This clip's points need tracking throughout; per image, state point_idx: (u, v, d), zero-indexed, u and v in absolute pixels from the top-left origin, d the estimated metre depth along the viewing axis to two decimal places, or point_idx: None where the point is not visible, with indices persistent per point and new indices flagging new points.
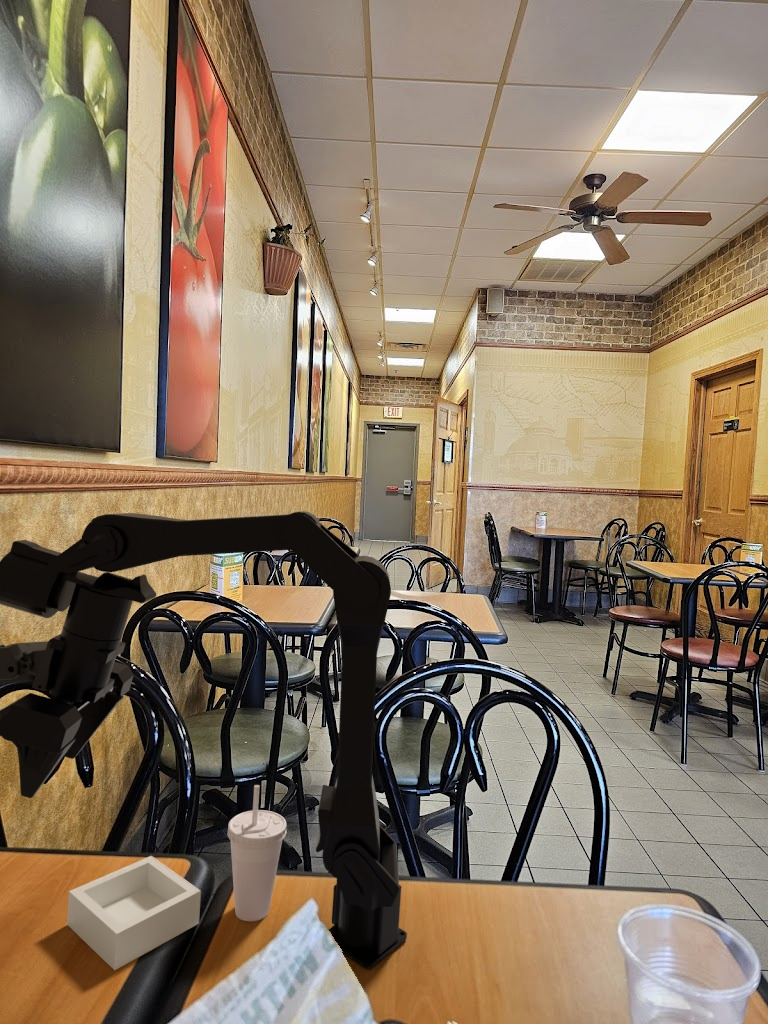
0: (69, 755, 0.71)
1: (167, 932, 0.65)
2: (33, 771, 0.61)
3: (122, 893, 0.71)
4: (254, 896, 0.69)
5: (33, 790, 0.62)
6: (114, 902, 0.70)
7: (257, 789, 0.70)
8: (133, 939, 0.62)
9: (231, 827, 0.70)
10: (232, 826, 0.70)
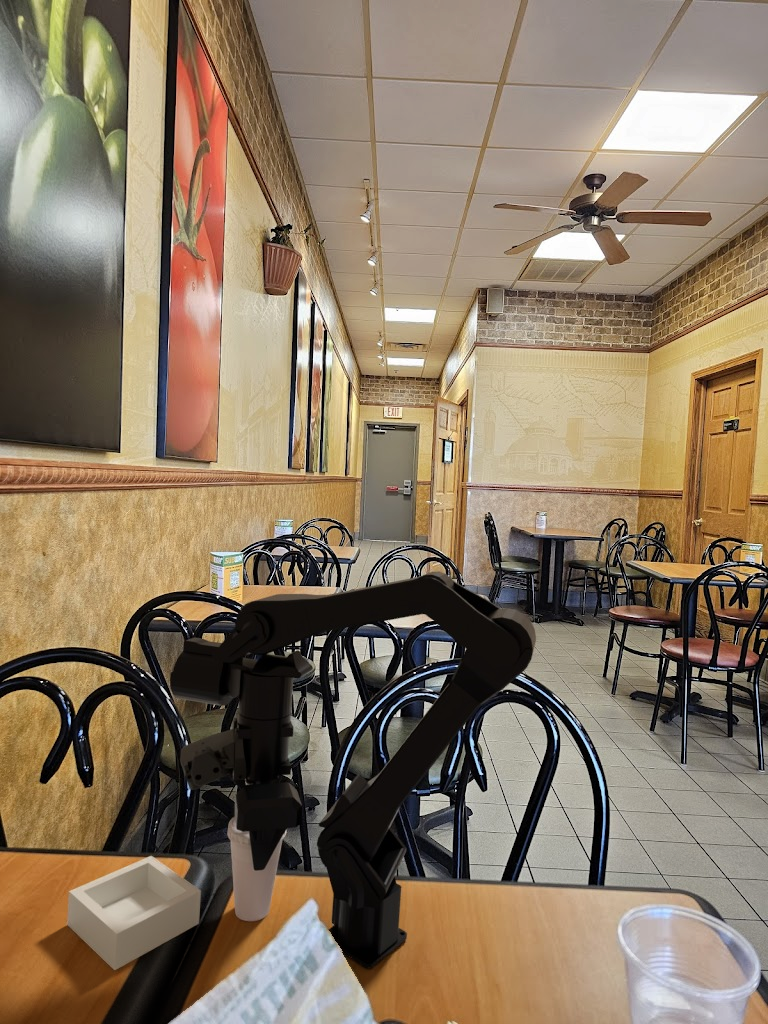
0: None
1: (167, 932, 0.65)
2: (264, 845, 0.67)
3: (122, 893, 0.71)
4: (254, 896, 0.69)
5: (265, 862, 0.68)
6: (114, 902, 0.70)
7: None
8: (133, 939, 0.62)
9: (231, 827, 0.70)
10: (232, 826, 0.70)
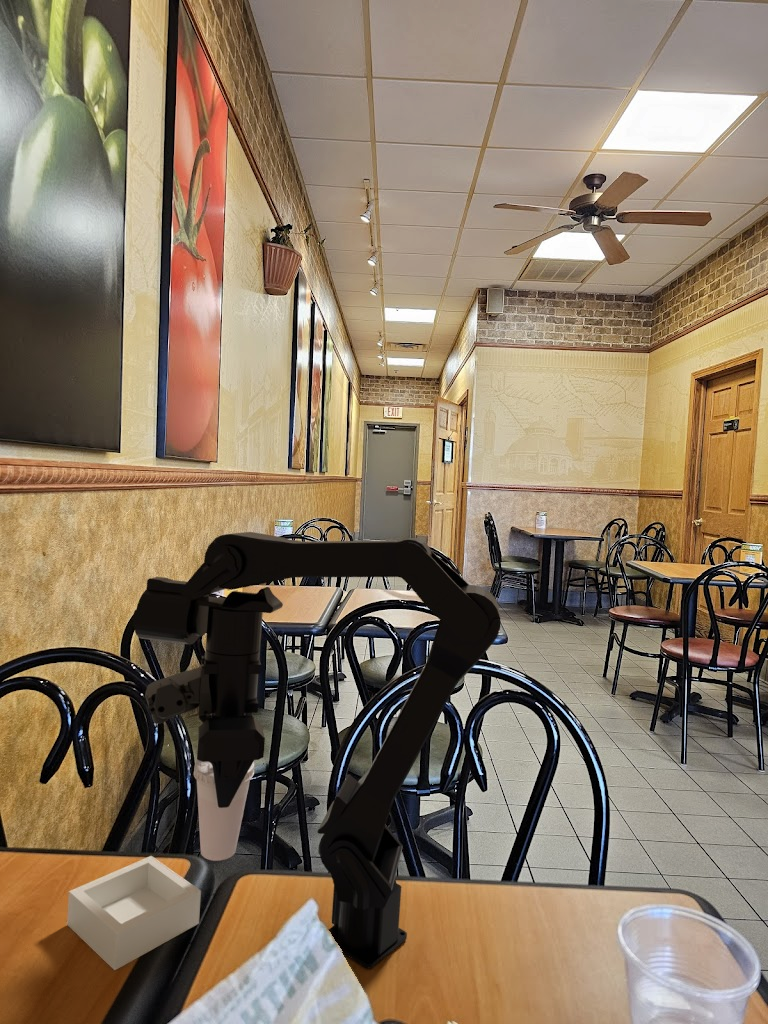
0: None
1: (167, 932, 0.65)
2: (228, 781, 0.66)
3: (122, 893, 0.71)
4: (219, 835, 0.68)
5: (230, 799, 0.67)
6: (114, 902, 0.70)
7: None
8: (133, 939, 0.62)
9: (197, 766, 0.69)
10: (198, 765, 0.69)
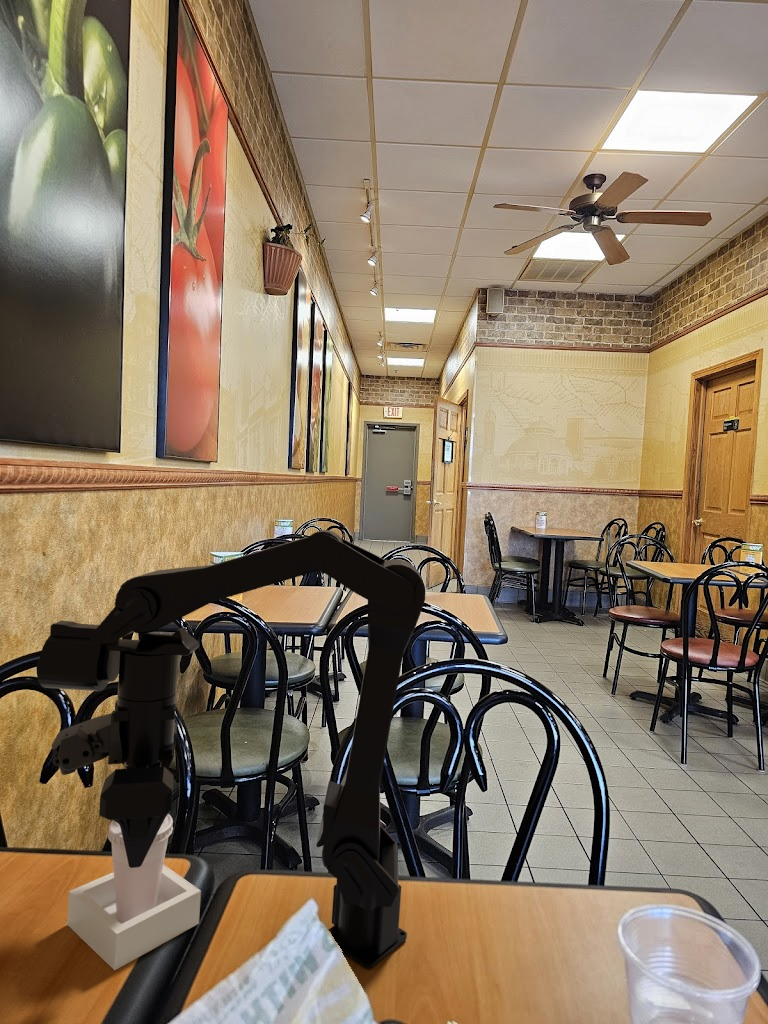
0: None
1: (167, 932, 0.65)
2: (139, 840, 0.62)
3: None
4: (133, 899, 0.66)
5: (141, 858, 0.63)
6: (114, 902, 0.70)
7: None
8: (133, 939, 0.62)
9: (111, 826, 0.67)
10: (113, 825, 0.67)
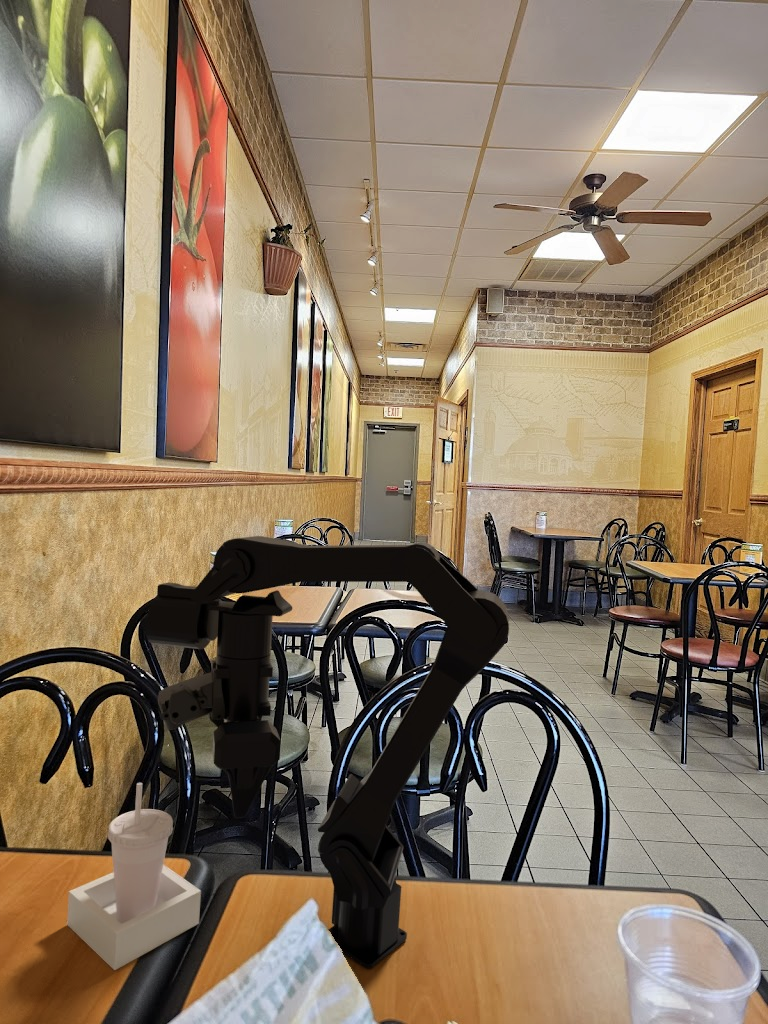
0: None
1: (167, 932, 0.65)
2: (245, 791, 0.65)
3: None
4: (133, 899, 0.66)
5: (246, 809, 0.65)
6: (114, 902, 0.70)
7: (139, 787, 0.67)
8: (133, 939, 0.62)
9: (111, 827, 0.67)
10: (113, 825, 0.67)
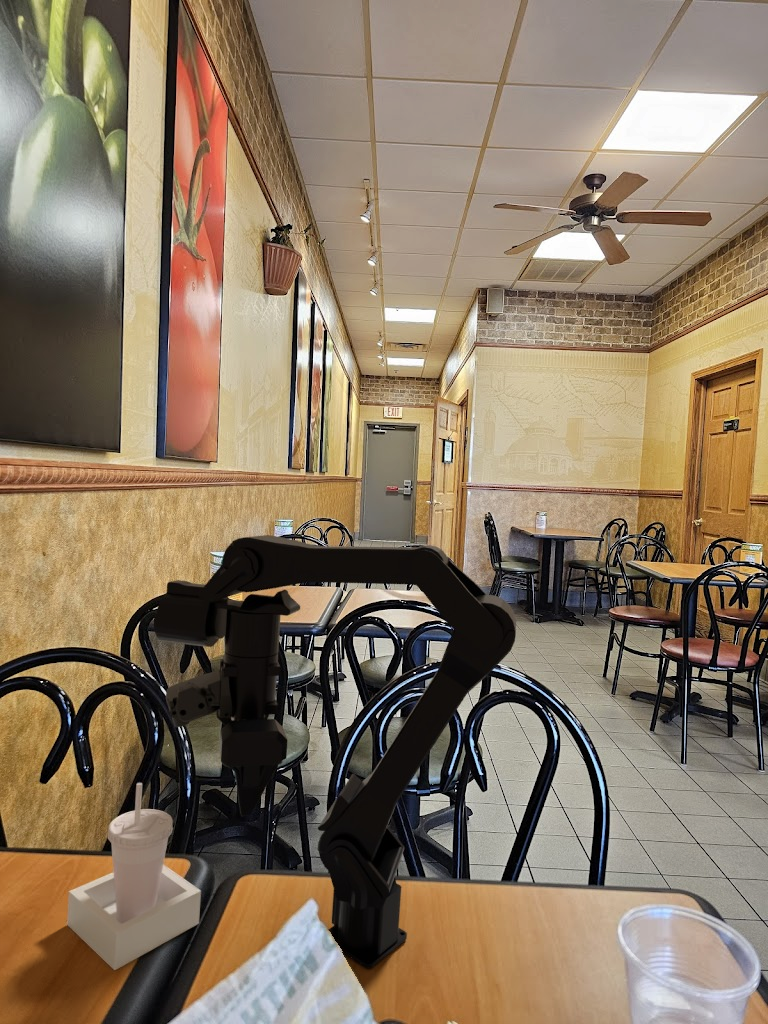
0: None
1: (167, 932, 0.65)
2: (251, 789, 0.65)
3: None
4: (133, 899, 0.66)
5: (252, 807, 0.66)
6: (114, 902, 0.70)
7: (139, 787, 0.67)
8: (133, 939, 0.62)
9: (111, 827, 0.67)
10: (113, 826, 0.67)
